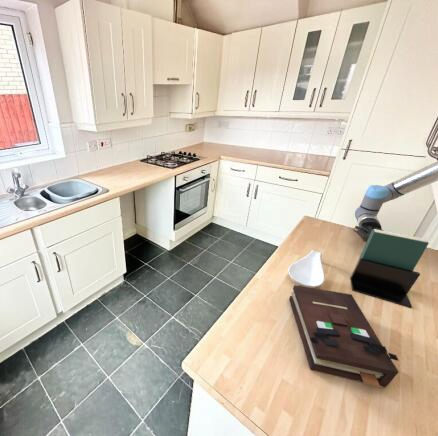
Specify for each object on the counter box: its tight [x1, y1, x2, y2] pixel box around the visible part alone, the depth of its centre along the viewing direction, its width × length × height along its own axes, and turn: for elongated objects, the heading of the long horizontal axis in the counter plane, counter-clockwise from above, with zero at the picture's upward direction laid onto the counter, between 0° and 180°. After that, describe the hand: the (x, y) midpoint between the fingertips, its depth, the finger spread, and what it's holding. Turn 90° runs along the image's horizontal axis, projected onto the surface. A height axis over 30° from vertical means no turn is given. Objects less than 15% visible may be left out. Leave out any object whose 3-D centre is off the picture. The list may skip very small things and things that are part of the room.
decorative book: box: [288, 284, 400, 388], centre depth 71 cm, size 19×8×30 cm
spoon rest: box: [287, 249, 325, 289], centre depth 96 cm, size 24×12×7 cm, turn 138°
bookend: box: [349, 257, 421, 309], centre depth 86 cm, size 16×8×10 cm, turn 59°
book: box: [356, 229, 429, 271], centre depth 88 cm, size 14×20×3 cm
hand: (379, 250), depth 97 cm, fingers closed
